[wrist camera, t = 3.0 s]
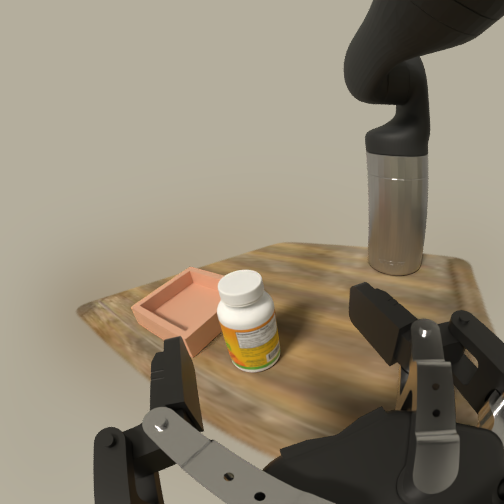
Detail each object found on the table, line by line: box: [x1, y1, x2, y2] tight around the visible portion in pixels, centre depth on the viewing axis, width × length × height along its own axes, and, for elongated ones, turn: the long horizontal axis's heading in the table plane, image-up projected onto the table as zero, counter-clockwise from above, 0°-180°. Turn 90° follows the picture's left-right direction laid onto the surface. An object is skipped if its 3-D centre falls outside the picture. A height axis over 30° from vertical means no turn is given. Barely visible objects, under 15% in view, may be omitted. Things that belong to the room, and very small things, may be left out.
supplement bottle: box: [217, 270, 280, 372], centre depth 26 cm, size 5×5×10 cm
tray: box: [131, 267, 224, 357], centre depth 36 cm, size 12×12×3 cm
